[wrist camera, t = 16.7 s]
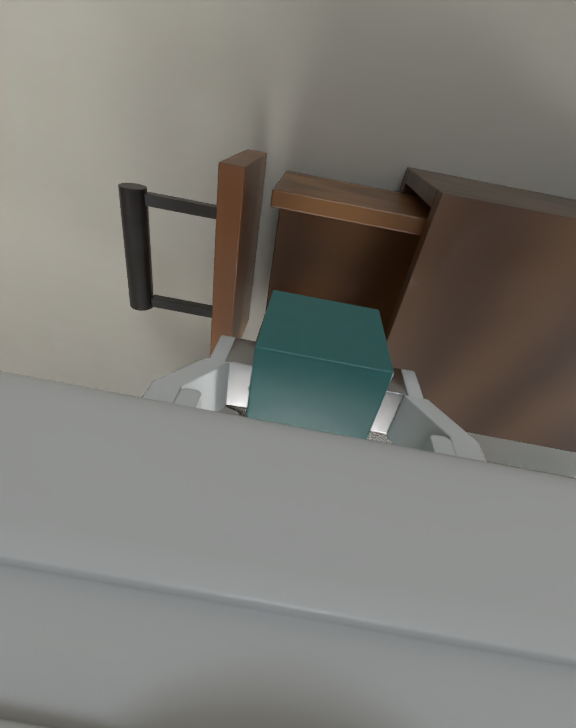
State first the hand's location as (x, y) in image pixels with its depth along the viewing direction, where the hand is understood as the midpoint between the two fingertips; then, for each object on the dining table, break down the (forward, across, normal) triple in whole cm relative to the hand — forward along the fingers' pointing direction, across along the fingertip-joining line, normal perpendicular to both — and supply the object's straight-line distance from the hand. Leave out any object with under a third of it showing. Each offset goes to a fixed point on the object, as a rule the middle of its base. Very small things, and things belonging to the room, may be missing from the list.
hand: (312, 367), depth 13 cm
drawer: (+14, +1, +1) cm, 14 cm away
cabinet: (+15, -12, +1) cm, 19 cm away
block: (+2, 0, 0) cm, 2 cm away
